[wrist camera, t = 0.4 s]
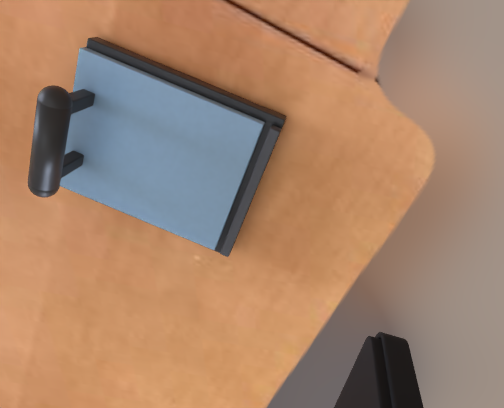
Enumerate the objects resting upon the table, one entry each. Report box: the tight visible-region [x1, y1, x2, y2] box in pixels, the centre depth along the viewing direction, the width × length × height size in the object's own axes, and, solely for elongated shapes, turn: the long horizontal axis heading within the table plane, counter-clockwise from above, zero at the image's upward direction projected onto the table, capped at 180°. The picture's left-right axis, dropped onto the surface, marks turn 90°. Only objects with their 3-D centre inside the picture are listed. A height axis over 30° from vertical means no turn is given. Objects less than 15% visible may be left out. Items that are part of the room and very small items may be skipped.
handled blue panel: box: [28, 47, 265, 250], centre depth 23 cm, size 11×9×5 cm
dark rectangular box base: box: [68, 37, 286, 257], centre depth 26 cm, size 12×10×2 cm
